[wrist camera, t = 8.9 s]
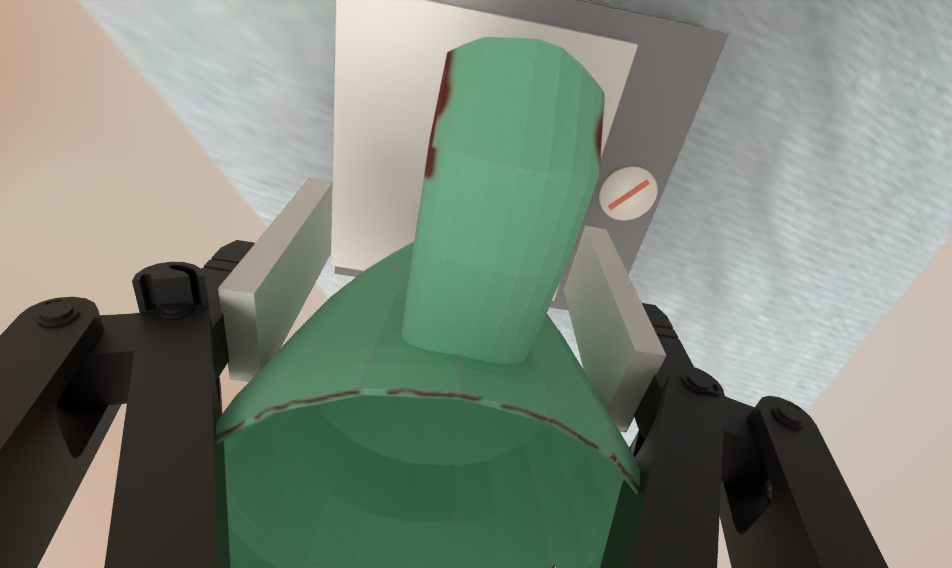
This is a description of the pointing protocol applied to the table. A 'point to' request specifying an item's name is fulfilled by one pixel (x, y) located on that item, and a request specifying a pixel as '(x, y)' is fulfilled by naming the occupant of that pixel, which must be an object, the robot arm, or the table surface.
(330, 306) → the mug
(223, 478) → the robot arm
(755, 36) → the table surface
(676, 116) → the scale
